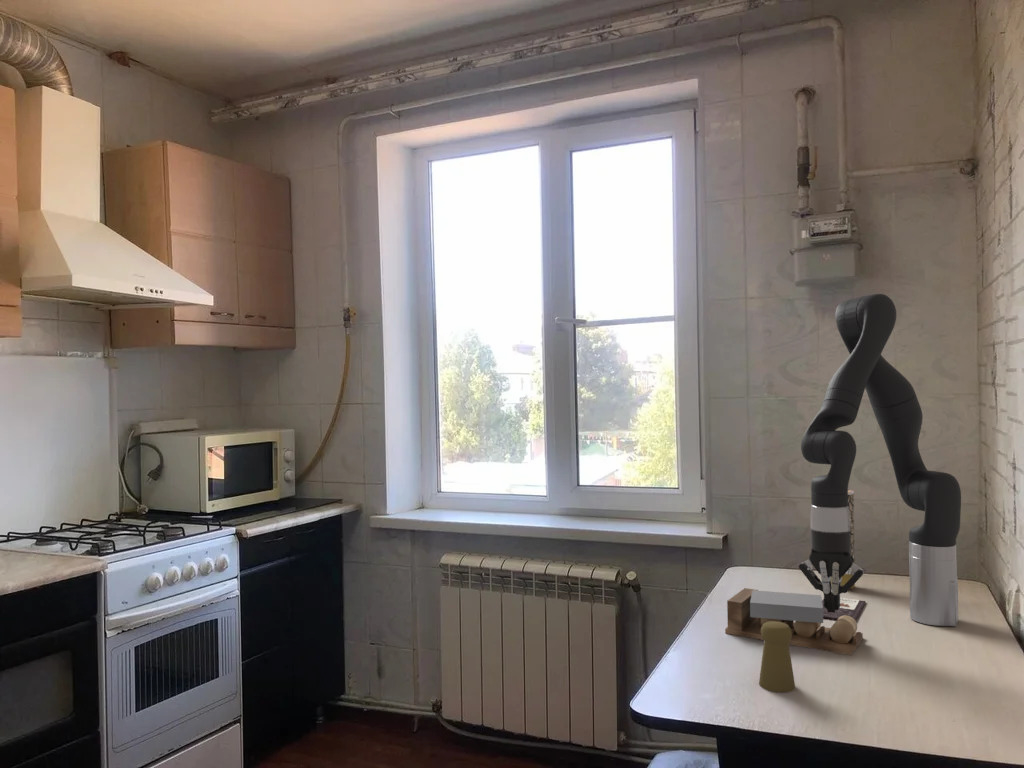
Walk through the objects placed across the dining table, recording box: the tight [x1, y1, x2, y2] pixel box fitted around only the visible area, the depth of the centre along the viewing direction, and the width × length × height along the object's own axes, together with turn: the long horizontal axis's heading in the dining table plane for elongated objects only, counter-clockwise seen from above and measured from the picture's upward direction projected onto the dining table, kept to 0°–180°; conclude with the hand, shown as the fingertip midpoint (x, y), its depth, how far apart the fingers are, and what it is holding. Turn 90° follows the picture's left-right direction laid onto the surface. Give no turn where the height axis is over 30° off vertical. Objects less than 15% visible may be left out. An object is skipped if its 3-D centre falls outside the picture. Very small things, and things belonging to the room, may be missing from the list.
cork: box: [758, 621, 796, 694], centre depth 134 cm, size 6×6×11 cm
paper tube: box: [831, 489, 856, 590], centre depth 198 cm, size 7×7×25 cm
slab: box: [750, 589, 824, 624], centre depth 160 cm, size 14×10×3 cm
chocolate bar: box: [822, 597, 867, 622], centre depth 178 cm, size 9×1×18 cm
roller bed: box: [724, 587, 864, 656], centre depth 161 cm, size 25×12×7 cm, turn 56°
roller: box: [761, 618, 785, 625], centre depth 163 cm, size 4×6×4 cm, turn 146°
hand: (832, 611), depth 157 cm, fingers closed
